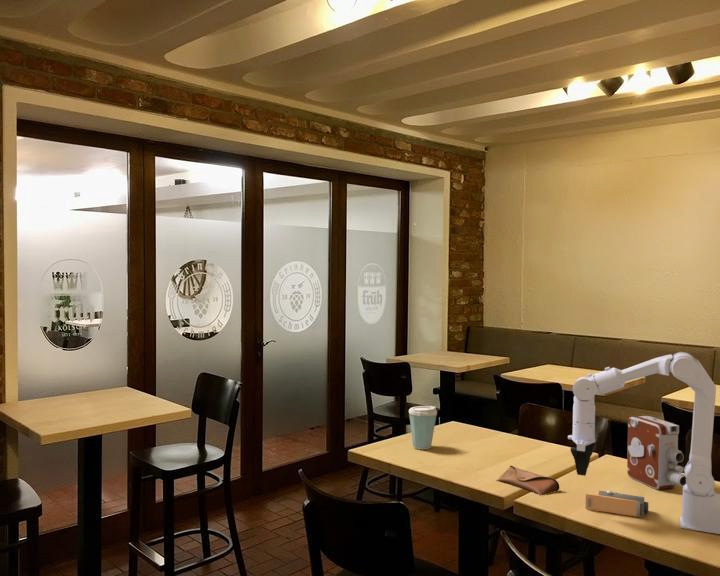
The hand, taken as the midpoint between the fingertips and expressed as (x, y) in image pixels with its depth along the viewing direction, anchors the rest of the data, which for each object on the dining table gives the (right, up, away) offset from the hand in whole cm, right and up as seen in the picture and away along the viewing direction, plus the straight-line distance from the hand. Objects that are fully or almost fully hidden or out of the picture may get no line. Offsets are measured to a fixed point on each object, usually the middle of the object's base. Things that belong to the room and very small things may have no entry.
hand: (582, 470), depth 170 cm
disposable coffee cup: (-38, -9, +58) cm, 70 cm away
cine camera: (+30, -10, +19) cm, 37 cm away
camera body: (+10, -10, -1) cm, 14 cm away
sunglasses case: (-11, -10, +18) cm, 23 cm away
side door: (+7, -10, -4) cm, 13 cm away
